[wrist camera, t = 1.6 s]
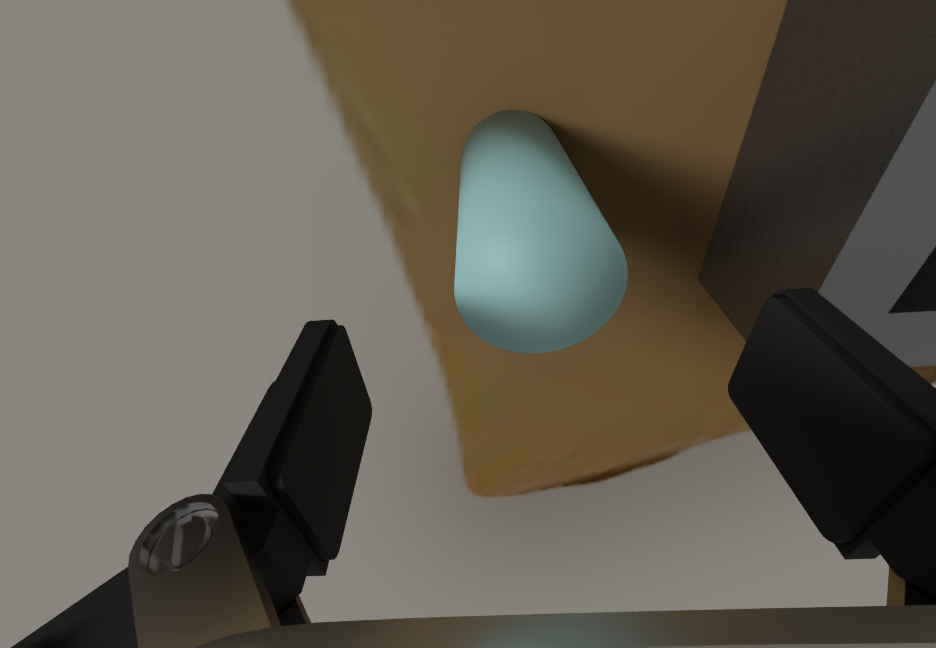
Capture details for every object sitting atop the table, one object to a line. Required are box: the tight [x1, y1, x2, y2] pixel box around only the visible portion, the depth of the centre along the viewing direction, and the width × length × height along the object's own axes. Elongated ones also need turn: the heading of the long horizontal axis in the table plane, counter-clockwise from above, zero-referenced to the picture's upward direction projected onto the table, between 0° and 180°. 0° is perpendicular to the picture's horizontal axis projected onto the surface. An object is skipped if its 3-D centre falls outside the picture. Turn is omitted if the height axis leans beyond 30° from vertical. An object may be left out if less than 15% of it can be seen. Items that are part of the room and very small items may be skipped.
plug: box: [454, 110, 628, 354], centre depth 14 cm, size 4×4×10 cm
